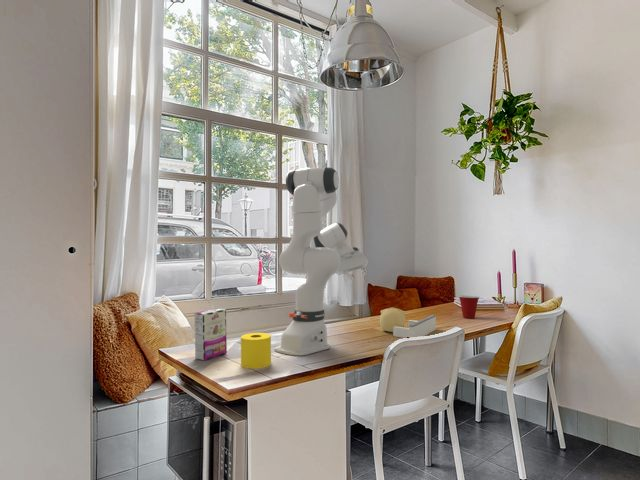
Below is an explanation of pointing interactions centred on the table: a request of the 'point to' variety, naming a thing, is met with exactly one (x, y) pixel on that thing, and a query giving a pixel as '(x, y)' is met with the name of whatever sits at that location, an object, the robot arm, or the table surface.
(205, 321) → the candy bar box
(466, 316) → the plastic cup
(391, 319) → the sculpture
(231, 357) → the table surface
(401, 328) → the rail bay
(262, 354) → the yellow toilet paper roll
